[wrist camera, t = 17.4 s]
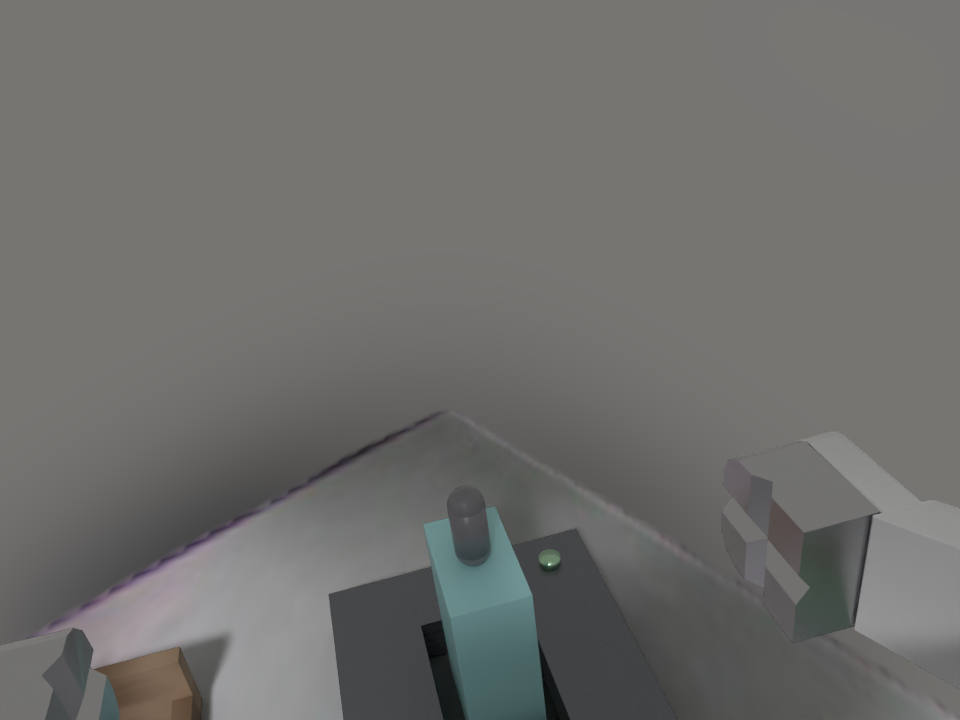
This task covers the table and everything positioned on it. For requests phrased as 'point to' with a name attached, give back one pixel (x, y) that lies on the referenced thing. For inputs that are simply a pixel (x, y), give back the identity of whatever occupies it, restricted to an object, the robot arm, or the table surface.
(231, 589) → the table surface
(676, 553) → the table surface
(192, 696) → the open wooden frame
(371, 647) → the port block
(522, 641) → the plug
